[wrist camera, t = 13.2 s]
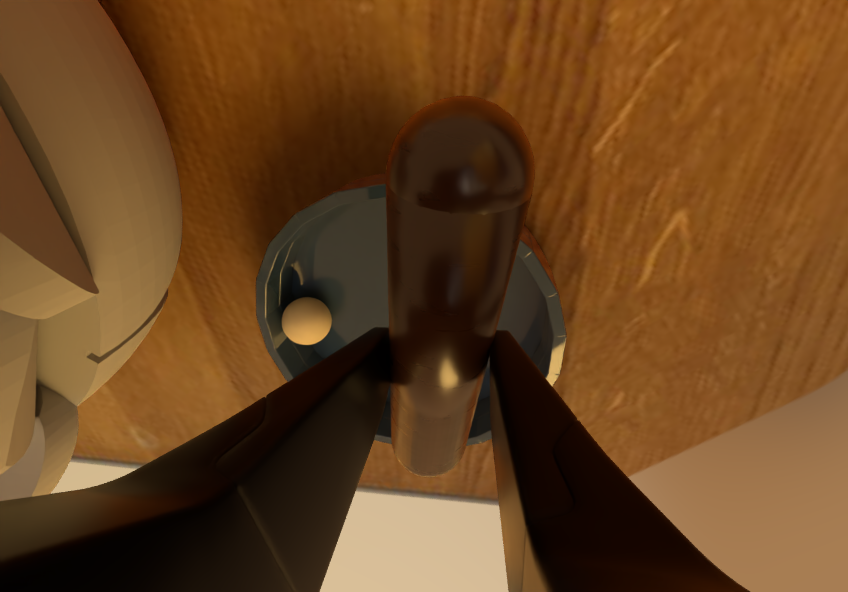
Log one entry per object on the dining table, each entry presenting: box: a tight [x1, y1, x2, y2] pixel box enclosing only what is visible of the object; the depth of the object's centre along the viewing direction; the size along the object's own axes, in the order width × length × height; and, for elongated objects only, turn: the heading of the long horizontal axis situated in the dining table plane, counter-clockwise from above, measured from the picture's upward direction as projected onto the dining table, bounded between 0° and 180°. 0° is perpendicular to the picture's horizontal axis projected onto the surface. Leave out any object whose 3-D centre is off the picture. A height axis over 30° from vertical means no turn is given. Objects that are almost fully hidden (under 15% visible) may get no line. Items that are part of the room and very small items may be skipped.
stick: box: [386, 96, 535, 477], centre depth 9 cm, size 11×2×2 cm, turn 175°
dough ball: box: [282, 297, 332, 345], centre depth 21 cm, size 3×3×3 cm
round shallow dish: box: [256, 173, 567, 446], centre depth 20 cm, size 16×16×4 cm
